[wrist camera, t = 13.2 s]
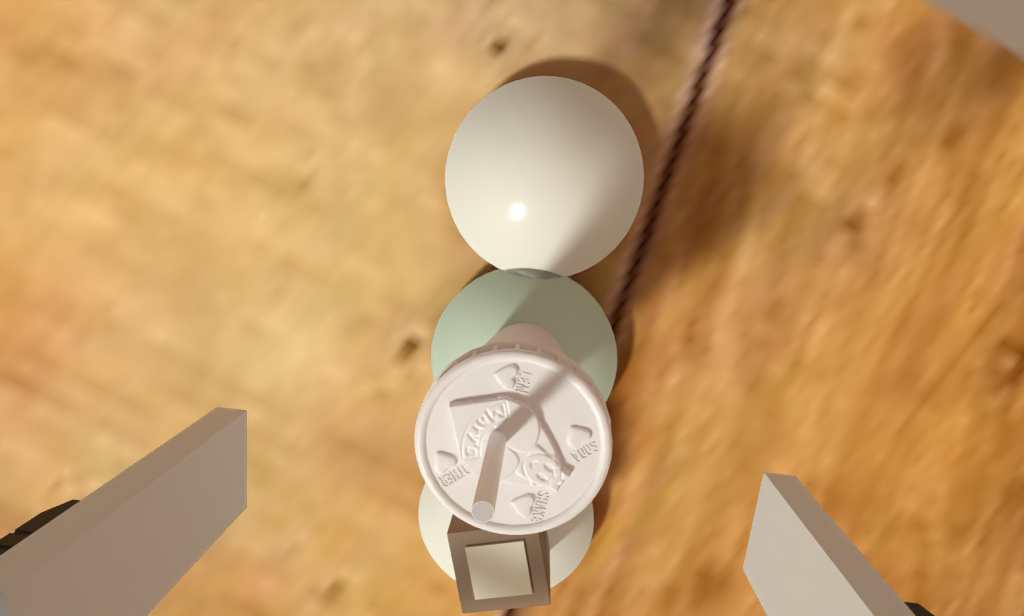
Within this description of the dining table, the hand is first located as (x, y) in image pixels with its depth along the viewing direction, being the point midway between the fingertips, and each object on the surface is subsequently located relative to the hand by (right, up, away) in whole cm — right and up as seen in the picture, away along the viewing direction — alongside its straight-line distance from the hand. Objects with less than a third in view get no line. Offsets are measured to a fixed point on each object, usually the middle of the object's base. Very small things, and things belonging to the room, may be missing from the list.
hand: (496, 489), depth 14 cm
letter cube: (0, -6, +15) cm, 16 cm away
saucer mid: (+1, +2, +14) cm, 14 cm away
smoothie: (+1, +2, +13) cm, 13 cm away
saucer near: (+2, +11, +12) cm, 17 cm away
